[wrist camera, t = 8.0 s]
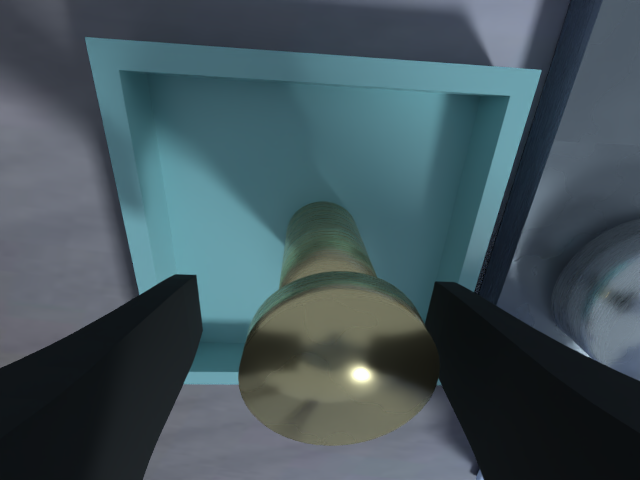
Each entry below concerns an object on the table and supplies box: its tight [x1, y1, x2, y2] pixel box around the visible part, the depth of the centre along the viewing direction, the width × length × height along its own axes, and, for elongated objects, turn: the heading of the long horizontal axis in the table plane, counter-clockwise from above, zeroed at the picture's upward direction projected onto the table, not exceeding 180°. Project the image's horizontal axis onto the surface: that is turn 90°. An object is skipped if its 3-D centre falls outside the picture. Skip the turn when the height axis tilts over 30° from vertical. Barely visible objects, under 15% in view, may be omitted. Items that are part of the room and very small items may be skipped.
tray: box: [85, 37, 542, 385], centre depth 14 cm, size 14×14×2 cm
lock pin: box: [238, 201, 440, 446], centre depth 11 cm, size 4×4×8 cm
